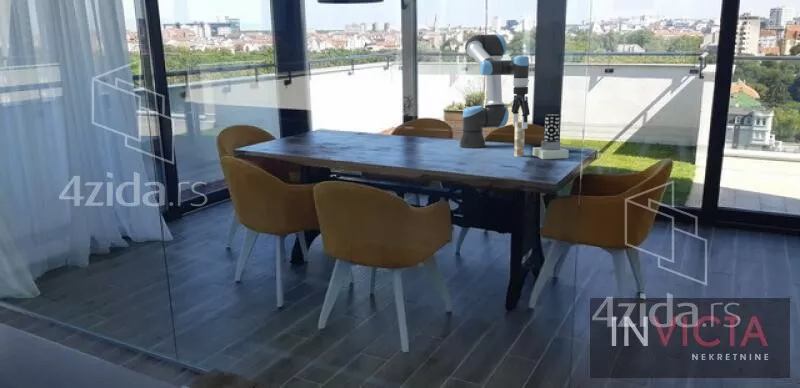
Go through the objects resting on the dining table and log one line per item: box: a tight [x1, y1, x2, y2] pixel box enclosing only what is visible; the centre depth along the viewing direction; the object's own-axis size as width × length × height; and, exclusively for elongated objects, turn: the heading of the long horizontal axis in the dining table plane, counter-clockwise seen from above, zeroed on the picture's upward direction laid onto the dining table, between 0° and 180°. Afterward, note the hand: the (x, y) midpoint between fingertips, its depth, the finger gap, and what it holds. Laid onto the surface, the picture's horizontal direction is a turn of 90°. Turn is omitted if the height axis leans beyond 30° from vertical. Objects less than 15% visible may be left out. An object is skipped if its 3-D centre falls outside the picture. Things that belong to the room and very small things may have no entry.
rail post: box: [513, 121, 525, 158], centre depth 329 cm, size 4×4×18 cm
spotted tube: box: [543, 113, 562, 143], centre depth 343 cm, size 8×8×20 cm
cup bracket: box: [540, 140, 561, 150], centre depth 327 cm, size 8×8×4 cm
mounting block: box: [532, 146, 570, 160], centre depth 328 cm, size 14×14×4 cm
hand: (519, 127), depth 328 cm, fingers open, 13 cm apart
